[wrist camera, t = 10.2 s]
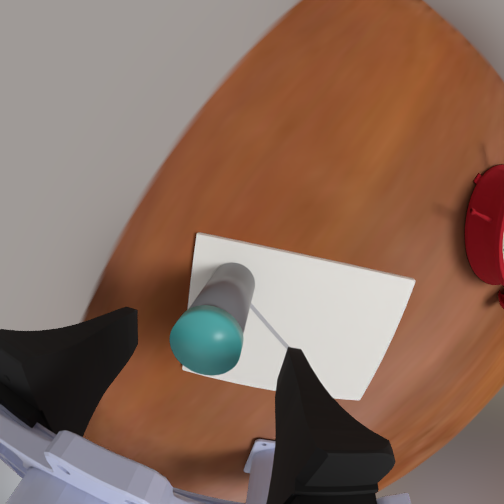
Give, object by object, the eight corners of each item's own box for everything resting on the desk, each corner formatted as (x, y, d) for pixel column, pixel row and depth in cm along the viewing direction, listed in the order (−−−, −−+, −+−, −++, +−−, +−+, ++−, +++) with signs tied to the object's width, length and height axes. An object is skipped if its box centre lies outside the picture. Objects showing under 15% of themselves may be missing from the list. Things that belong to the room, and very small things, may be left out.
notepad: (413, 278, 19) (416, 280, 18) (358, 396, 22) (359, 400, 21) (198, 232, 19) (196, 233, 19) (184, 366, 23) (182, 370, 22)
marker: (260, 266, 19) (246, 325, 11) (251, 308, 20) (234, 382, 12) (214, 256, 19) (171, 307, 11) (207, 298, 20) (168, 364, 12)
